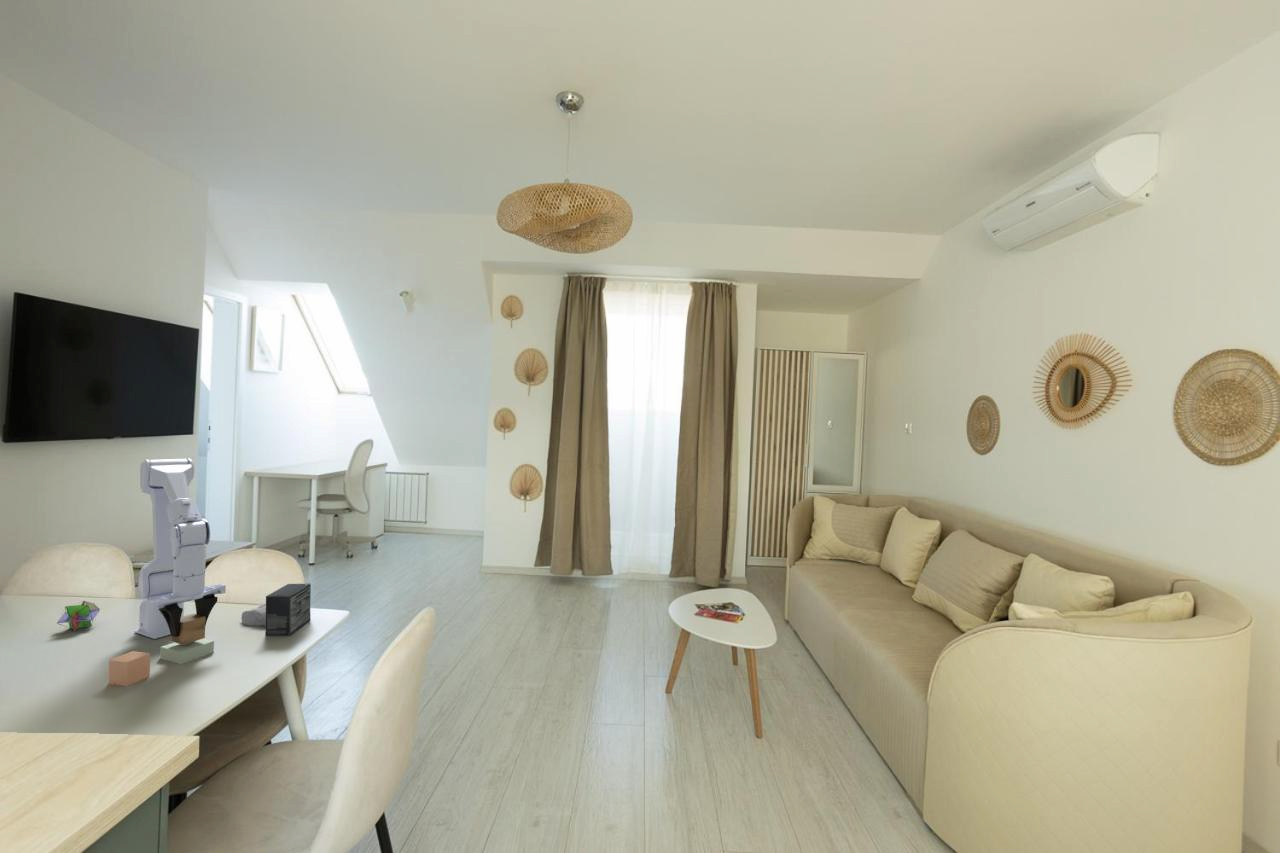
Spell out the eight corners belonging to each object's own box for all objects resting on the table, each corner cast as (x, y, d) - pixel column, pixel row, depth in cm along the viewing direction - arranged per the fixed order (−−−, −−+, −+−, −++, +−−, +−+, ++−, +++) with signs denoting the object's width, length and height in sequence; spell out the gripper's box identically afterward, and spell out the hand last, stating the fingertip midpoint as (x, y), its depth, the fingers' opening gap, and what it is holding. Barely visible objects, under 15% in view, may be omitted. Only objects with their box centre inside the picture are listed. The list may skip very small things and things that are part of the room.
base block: (160, 659, 125) (160, 646, 125) (194, 648, 132) (194, 635, 132) (180, 665, 123) (180, 652, 123) (213, 653, 130) (213, 640, 130)
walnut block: (170, 641, 126) (171, 619, 126) (193, 634, 130) (193, 613, 130) (182, 644, 124) (183, 622, 124) (204, 638, 129) (205, 616, 129)
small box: (286, 620, 150) (287, 582, 150) (311, 621, 151) (312, 583, 150) (263, 636, 140) (264, 595, 139) (290, 636, 140) (291, 595, 140)
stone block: (236, 630, 147) (268, 627, 145) (234, 612, 147) (266, 608, 145) (274, 617, 159) (304, 613, 157) (272, 600, 159) (302, 596, 157)
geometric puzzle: (86, 625, 137) (96, 594, 141) (49, 629, 134) (60, 597, 138) (97, 634, 142) (106, 604, 146) (61, 638, 139) (71, 606, 143)
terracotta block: (108, 684, 113) (109, 660, 113) (131, 674, 118) (132, 651, 118) (126, 686, 113) (127, 662, 113) (149, 676, 117) (150, 653, 117)
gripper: (161, 584, 119) (159, 646, 119) (233, 568, 132) (232, 624, 132) (143, 579, 122) (142, 640, 122) (216, 564, 135) (214, 619, 135)
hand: (187, 632), depth 127 cm, fingers closed on walnut block, 4 cm apart
